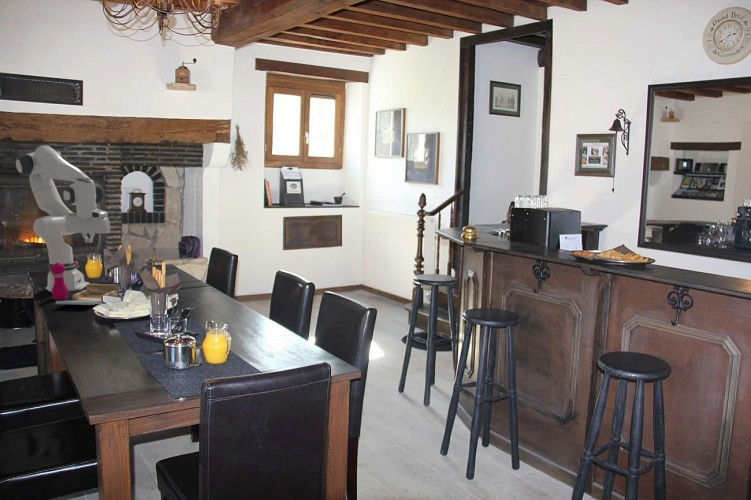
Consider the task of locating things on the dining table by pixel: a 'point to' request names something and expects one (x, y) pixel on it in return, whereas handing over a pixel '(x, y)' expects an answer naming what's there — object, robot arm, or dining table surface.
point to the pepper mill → (59, 282)
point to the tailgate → (78, 302)
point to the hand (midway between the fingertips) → (89, 242)
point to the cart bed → (96, 292)
